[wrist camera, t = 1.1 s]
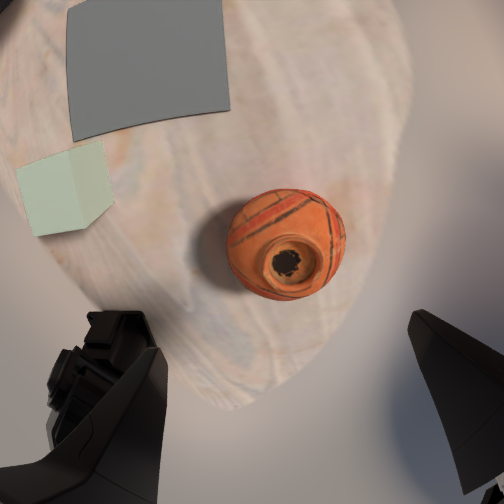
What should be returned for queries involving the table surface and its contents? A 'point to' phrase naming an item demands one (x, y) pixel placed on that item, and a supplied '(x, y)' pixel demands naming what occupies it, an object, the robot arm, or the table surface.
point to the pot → (286, 244)
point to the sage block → (66, 189)
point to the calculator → (4, 4)
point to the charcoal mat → (144, 62)
